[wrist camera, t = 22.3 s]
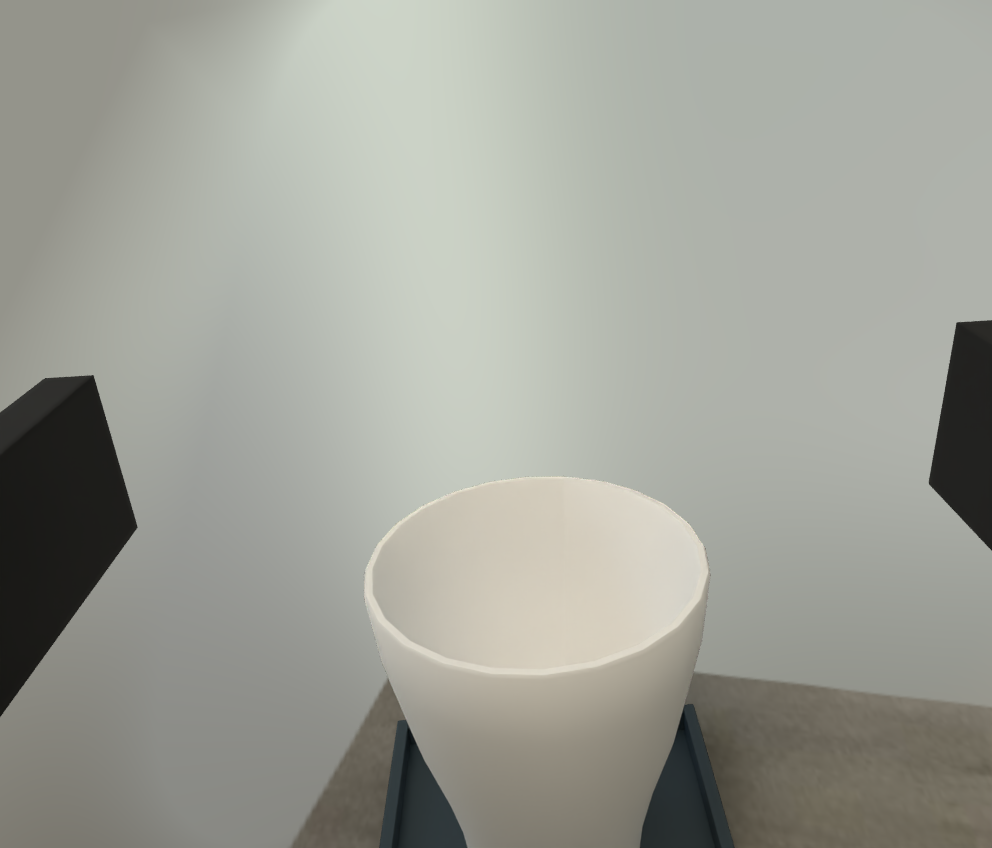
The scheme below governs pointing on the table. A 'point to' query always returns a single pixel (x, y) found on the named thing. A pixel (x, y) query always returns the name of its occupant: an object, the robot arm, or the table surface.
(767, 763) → the table surface
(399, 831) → the frame
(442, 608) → the cup
